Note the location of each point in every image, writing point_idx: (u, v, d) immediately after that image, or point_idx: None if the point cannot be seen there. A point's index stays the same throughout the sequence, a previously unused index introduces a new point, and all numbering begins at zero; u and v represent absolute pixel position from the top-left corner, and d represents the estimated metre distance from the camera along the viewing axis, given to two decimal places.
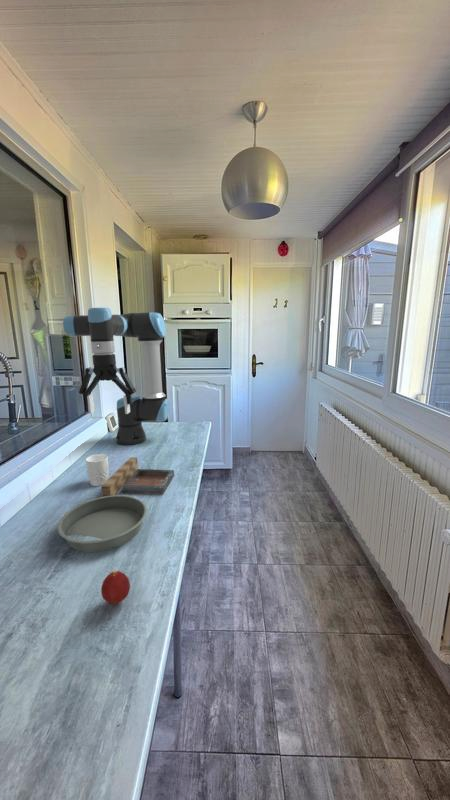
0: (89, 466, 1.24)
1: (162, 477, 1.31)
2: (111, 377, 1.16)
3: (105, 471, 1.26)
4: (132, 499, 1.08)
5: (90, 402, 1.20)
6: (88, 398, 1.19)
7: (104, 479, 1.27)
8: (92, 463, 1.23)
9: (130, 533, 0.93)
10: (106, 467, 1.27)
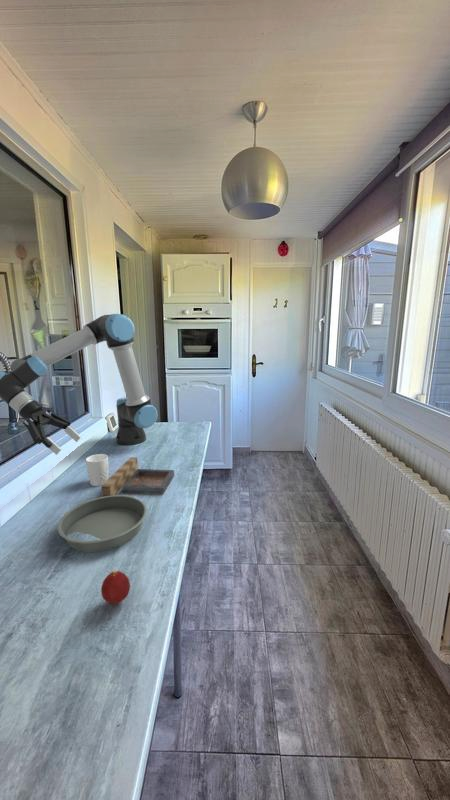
0: (89, 466, 1.24)
1: (162, 477, 1.31)
2: None
3: (105, 471, 1.26)
4: (132, 499, 1.08)
5: (69, 434, 1.33)
6: None
7: (104, 479, 1.27)
8: (92, 463, 1.23)
9: (130, 533, 0.93)
10: (106, 467, 1.27)
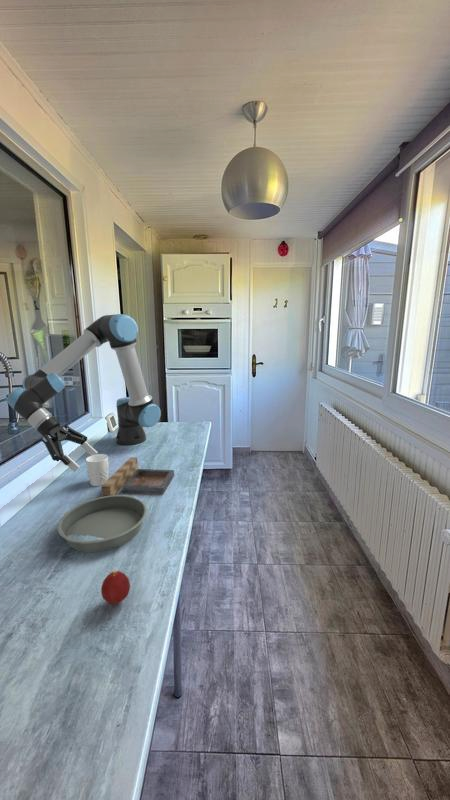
0: (89, 466, 1.24)
1: (162, 477, 1.31)
2: None
3: (105, 471, 1.26)
4: (132, 499, 1.08)
5: (86, 449, 1.33)
6: None
7: (104, 479, 1.27)
8: (92, 463, 1.23)
9: (130, 533, 0.93)
10: (106, 467, 1.27)
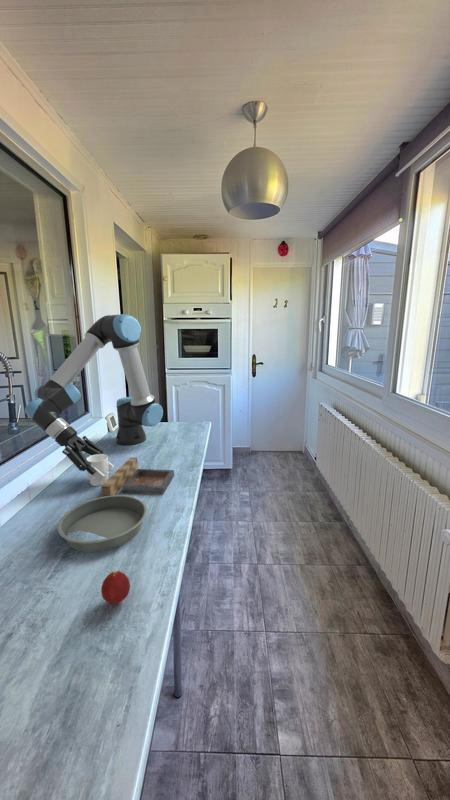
0: None
1: (162, 477, 1.31)
2: None
3: (105, 471, 1.26)
4: (132, 499, 1.08)
5: None
6: None
7: (104, 479, 1.27)
8: (92, 463, 1.23)
9: (130, 533, 0.93)
10: (106, 467, 1.27)
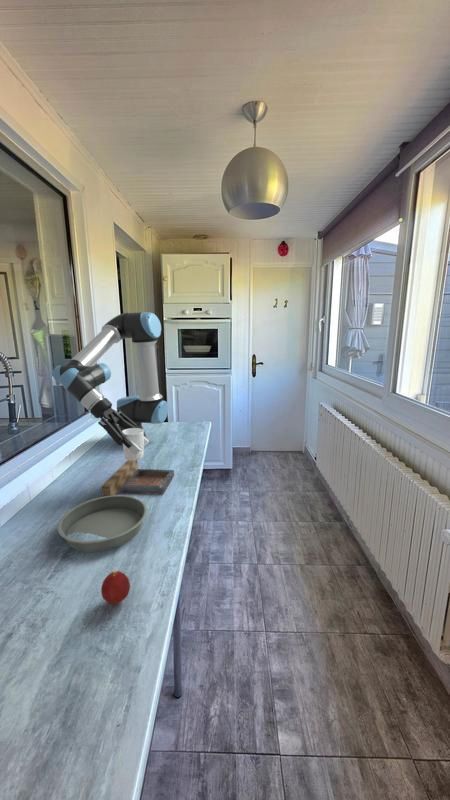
0: None
1: (162, 477, 1.31)
2: None
3: (141, 445, 1.21)
4: (132, 499, 1.08)
5: None
6: None
7: (140, 454, 1.21)
8: (128, 436, 1.18)
9: (130, 533, 0.93)
10: (142, 441, 1.21)
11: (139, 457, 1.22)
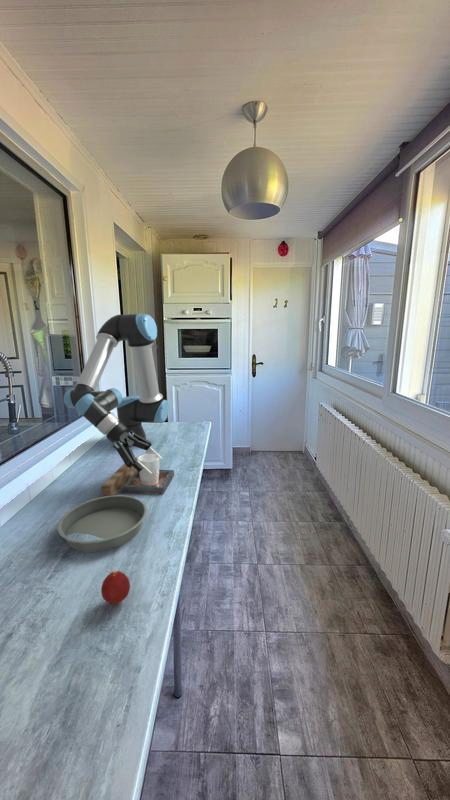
0: None
1: (162, 477, 1.31)
2: None
3: (157, 471, 1.24)
4: (132, 499, 1.08)
5: None
6: None
7: (156, 479, 1.25)
8: (145, 463, 1.21)
9: (130, 533, 0.93)
10: (158, 467, 1.25)
11: (155, 483, 1.25)
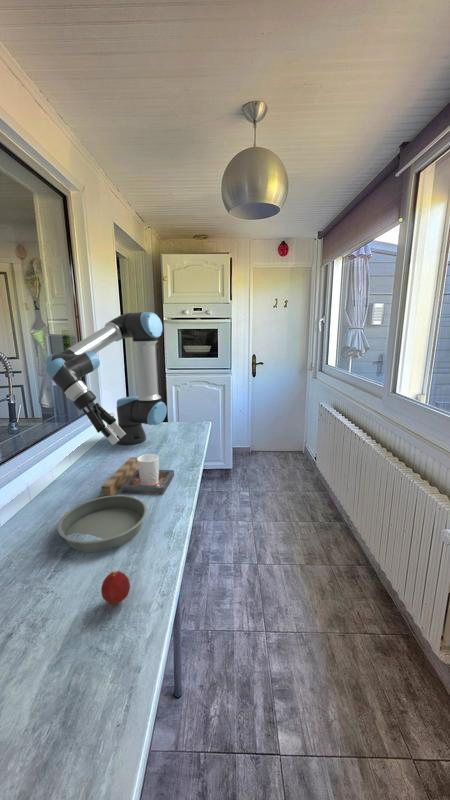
0: (141, 466, 1.22)
1: (162, 477, 1.31)
2: None
3: (156, 471, 1.24)
4: (132, 499, 1.08)
5: (114, 430, 1.32)
6: (111, 427, 1.32)
7: (155, 480, 1.25)
8: (144, 463, 1.21)
9: (130, 533, 0.93)
10: (157, 467, 1.25)
11: (155, 483, 1.25)
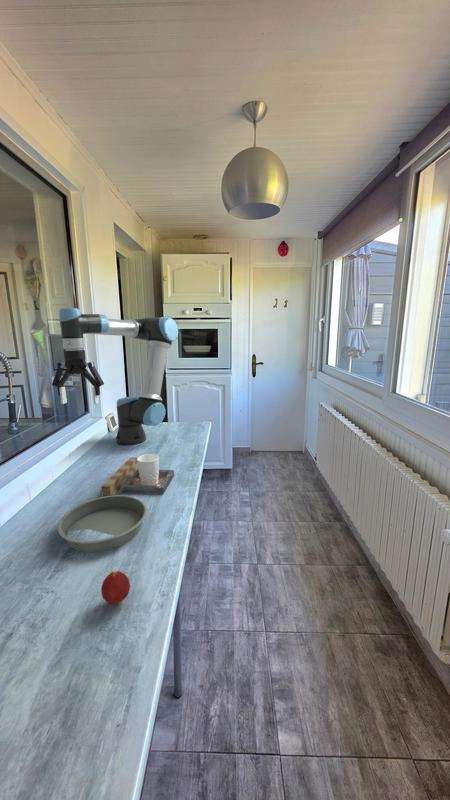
0: (141, 466, 1.22)
1: (162, 477, 1.31)
2: (81, 371, 1.29)
3: (156, 471, 1.24)
4: (132, 499, 1.08)
5: (62, 393, 1.33)
6: (60, 390, 1.32)
7: (155, 480, 1.25)
8: (144, 463, 1.21)
9: (130, 533, 0.93)
10: (157, 467, 1.25)
11: (155, 483, 1.25)
